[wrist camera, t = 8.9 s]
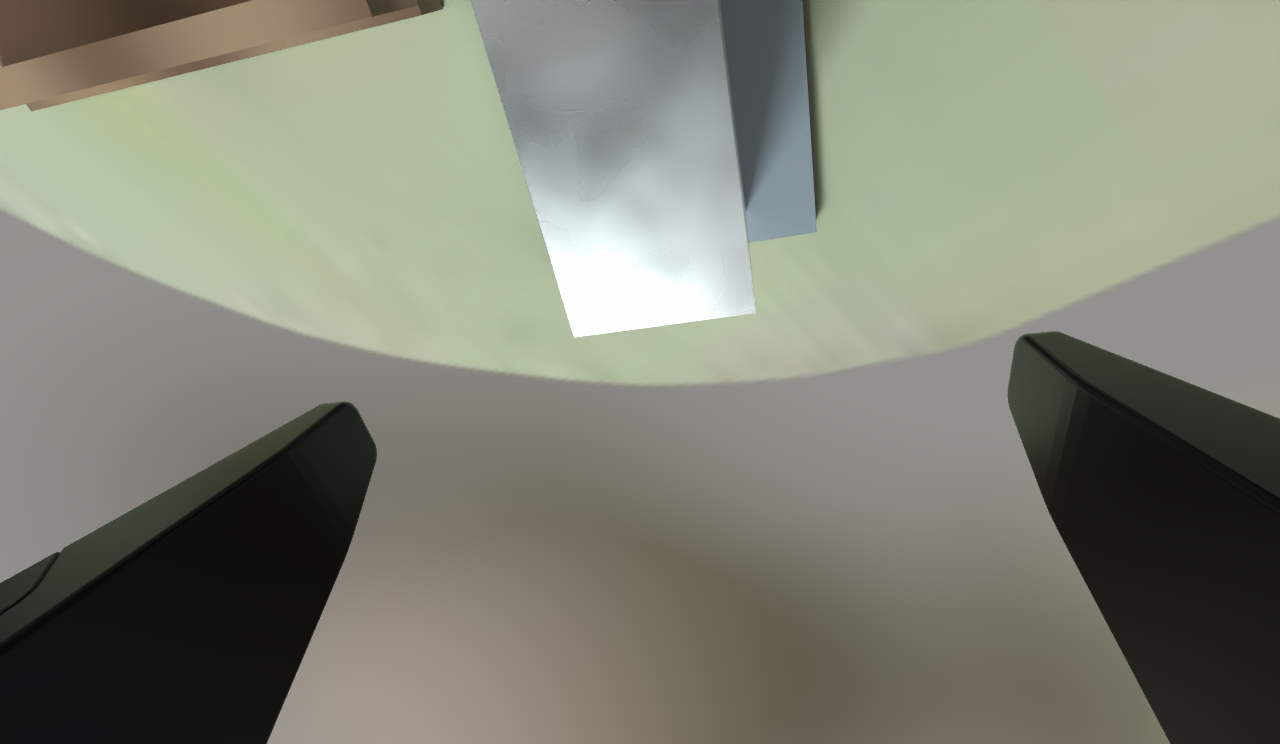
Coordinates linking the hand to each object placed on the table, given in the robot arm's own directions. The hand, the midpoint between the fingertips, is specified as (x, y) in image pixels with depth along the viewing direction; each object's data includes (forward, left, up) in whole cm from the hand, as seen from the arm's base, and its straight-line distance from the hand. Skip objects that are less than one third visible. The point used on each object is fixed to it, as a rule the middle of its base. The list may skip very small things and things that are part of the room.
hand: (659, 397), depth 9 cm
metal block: (+1, -2, -11) cm, 11 cm away
